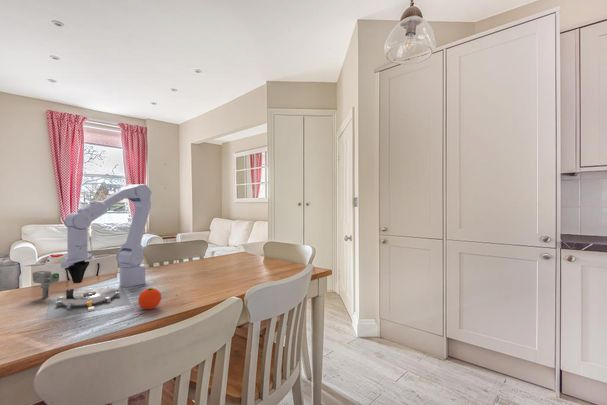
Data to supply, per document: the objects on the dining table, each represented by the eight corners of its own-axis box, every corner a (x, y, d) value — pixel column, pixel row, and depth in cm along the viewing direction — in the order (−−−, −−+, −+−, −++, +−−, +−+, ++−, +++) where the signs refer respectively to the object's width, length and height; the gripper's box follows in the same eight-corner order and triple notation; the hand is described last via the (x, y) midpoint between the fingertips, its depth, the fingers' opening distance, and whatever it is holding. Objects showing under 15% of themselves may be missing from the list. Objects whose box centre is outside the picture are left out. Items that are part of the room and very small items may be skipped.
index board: (121, 289, 116) (122, 285, 116) (130, 306, 97) (130, 302, 97) (50, 300, 102) (50, 296, 102) (44, 323, 83) (45, 318, 83)
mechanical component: (52, 302, 100) (52, 274, 100) (29, 299, 103) (30, 272, 102) (60, 299, 103) (61, 272, 103) (39, 296, 105) (39, 270, 105)
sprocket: (117, 287, 114) (117, 277, 114) (121, 301, 99) (121, 289, 99) (58, 296, 103) (59, 284, 103) (53, 313, 88) (53, 299, 88)
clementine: (140, 305, 99) (141, 285, 99) (162, 303, 101) (162, 283, 101) (136, 313, 91) (136, 292, 91) (159, 311, 94) (160, 290, 94)
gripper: (78, 242, 108) (78, 277, 108) (50, 249, 94) (50, 289, 94) (98, 242, 109) (98, 276, 109) (74, 249, 95) (74, 288, 95)
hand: (77, 282), depth 102 cm, fingers closed
